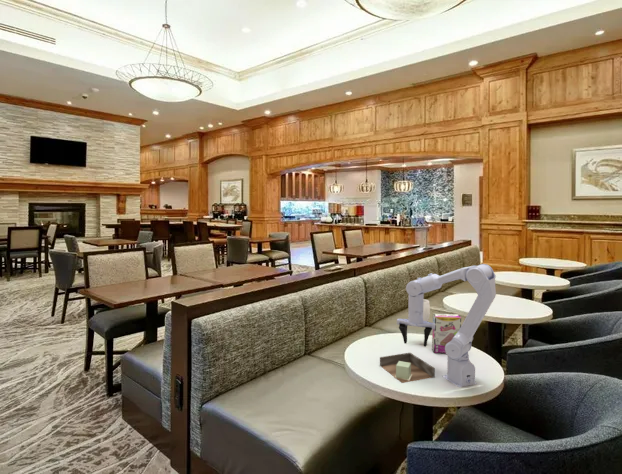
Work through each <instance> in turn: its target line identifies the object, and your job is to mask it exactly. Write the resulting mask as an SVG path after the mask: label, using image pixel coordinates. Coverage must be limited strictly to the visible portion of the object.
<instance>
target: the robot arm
mask: <svg viewBox="0 0 622 474" xmlns="http://www.w3.org/2000/svg"><path fill="white" fill-rule="evenodd" d="M496 277H497V276H496V273H495V272H494V270H493V267H491V266H490V265H488V264H487V263H480V264H478V265H471V266H466V267H465V266H464V267H461V268H458V269H455V270H452V271H449V272H447V273H445V274H442V275H439V274H437V273H428V274H427V276H423V277H417V279H415V280H411V281H409V282H408V283H407V284H406V286H405V290H406V293H407V294H408V306H407V307H408V309H407V311H408V314H407V315H408V316H407V317H408V318H397V319H396V325H397V326H398V329H399V330H400V333H401V335H402V336H401V337H402V338H403V343H404V344H407V342H408V326H409V327H418V328H423V333H424V334H423V336H424V339H423V347H424V348H425V347H427V345H428V339H429V336H430V334H431V332H432V331H433V329H435V323H433V322H430V321H428V322H427V321H423V304H424V299H425V297H424V296H425V294H426V293H429V292H432V291H436V290H439V289H441V288H442V286H443V284H447V283H450V282H454V281H457V280H461V281H463V282H468V283H469V284H470V285H471V287H472V288H473V289H474V290H475V292H476V294H477V297H476V299H474V302H473V304H472V305H471V308H470V309H469V311H468V313H467V315H466V316H465V318H464V321H463V322H462V323H461V327H460V329H459V331H458V332H457V334H456V335H455V336H454V337H453V339H452V340H451V341H450V342H448V343H447V344H446V346H445V352H446V353H445V354H446V355H447V368H446V369H447V370H446V371H447V373H446V374H445V375H441V376H442V378H444V379H446V380H447V381H448V382H449V383H452V384H453V385H454V386H456V387H458V388H463V387H467V386H472V385H473V386H474V385H477V382H476V367H475V365H474V364H473V363H472V362H471V360H470V359H469V358H470V356H469V352H470V351H471V349H472V342H473V340H474V335H475V333H476V331H478V328H479V327H480V325H481V323H482V321H483V319H484V318H485V316H486V315H487V312H488V310H489V309H490V307H491V306H492V303H493V302H494V300H495V298H496V297H497V292H496V291H497V290H496Z"/></svg>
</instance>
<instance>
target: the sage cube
mask: <svg viewBox="0 0 622 474" xmlns="http://www.w3.org/2000/svg"><path fill="white" fill-rule="evenodd" d="M410 375H411V363H408V362H403V361H399V362H398V363H397V365H396V377H398V378H403V379H409V377H410Z"/></svg>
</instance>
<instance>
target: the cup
mask: <svg viewBox="0 0 622 474" xmlns="http://www.w3.org/2000/svg"><path fill="white" fill-rule="evenodd" d="M430 316H431V306H430V300H429V299H425V298H424V304H423V321H427V322H429V320H430Z"/></svg>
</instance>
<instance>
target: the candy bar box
mask: <svg viewBox="0 0 622 474" xmlns="http://www.w3.org/2000/svg"><path fill="white" fill-rule="evenodd" d="M432 323H435V329H432V330H431V332H432V337H431V342H432V343H431V350H432V352H433V353H434V354H446V352H445V346H446V344H447V343H448V342H450V341H451V340H452V339H453V337H454V336H455V335H456V334H457V332H458V331H459V329H460V327H461V325H462V317H461V316H460V314H457V313H456V314H454V313H453V314H452V313H448V314H447V313H432Z"/></svg>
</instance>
